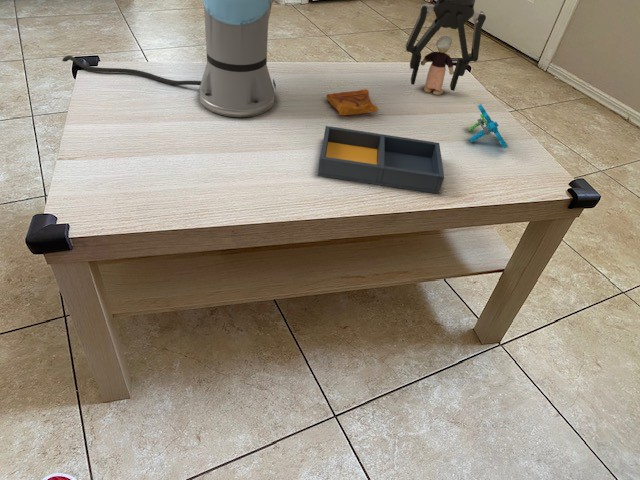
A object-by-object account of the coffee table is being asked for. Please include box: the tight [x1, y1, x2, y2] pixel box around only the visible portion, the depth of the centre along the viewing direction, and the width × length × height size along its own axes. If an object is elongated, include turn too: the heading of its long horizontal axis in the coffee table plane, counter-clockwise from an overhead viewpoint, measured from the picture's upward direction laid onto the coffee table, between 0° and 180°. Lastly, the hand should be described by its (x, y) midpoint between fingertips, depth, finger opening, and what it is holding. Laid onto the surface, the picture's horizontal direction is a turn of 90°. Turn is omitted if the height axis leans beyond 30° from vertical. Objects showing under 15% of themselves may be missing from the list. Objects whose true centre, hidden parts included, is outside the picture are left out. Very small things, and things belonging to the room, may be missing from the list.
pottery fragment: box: [326, 88, 379, 116], centre depth 103 cm, size 10×5×10 cm
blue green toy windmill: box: [468, 104, 508, 150], centre depth 97 cm, size 11×6×10 cm
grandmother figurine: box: [420, 35, 454, 96], centre depth 110 cm, size 8×4×13 cm, turn 77°
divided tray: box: [317, 125, 445, 195], centre depth 87 cm, size 21×11×4 cm, turn 84°
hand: (432, 84), depth 113 cm, fingers open, 9 cm apart
